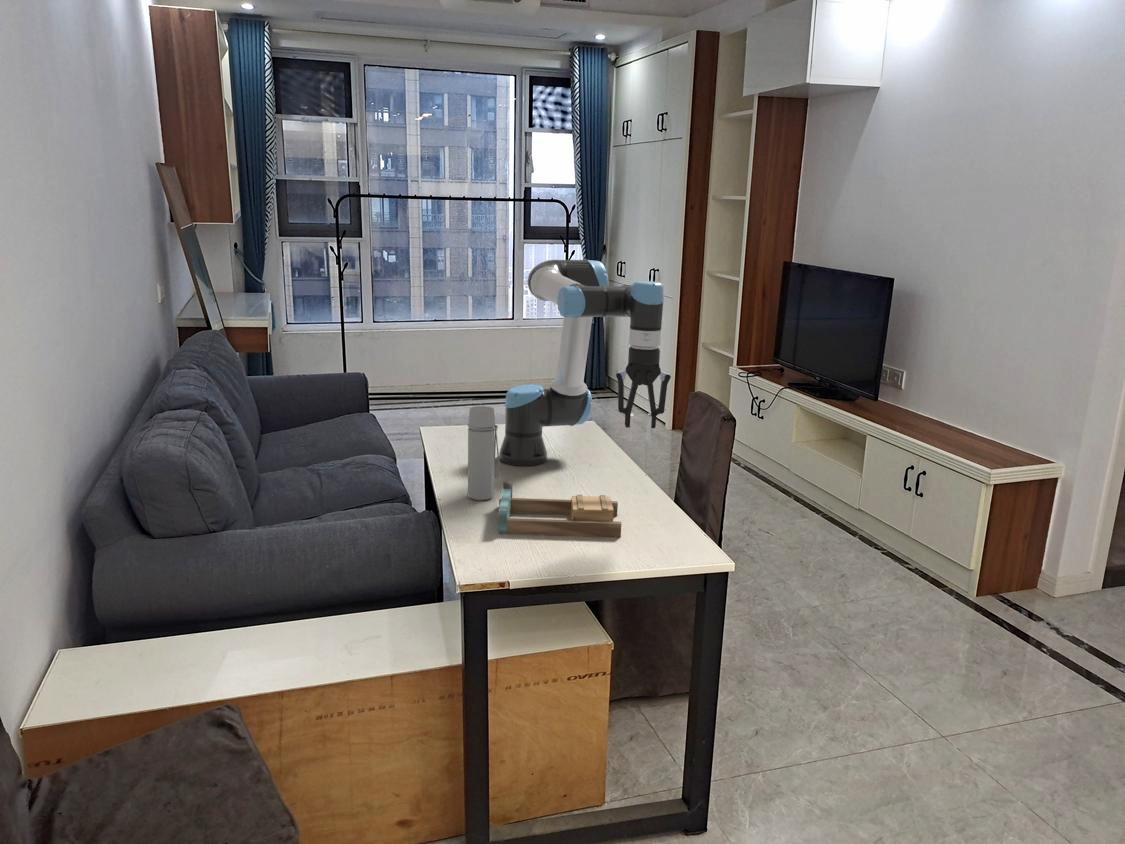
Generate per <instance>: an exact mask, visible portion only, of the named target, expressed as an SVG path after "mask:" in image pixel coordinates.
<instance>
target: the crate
mask: <svg viewBox="0 0 1125 844" xmlns="http://www.w3.org/2000/svg"><path fill="white" fill-rule="evenodd" d="M570 500H571V514H570V520H585V521H614V516H613V513H614V510H613V506H612V502H611V501H612V498H611V496H606V495H605V494H600V495H599V496H597V495H596V496H592V495H591V496H590V495H587V496H586V495H583V494H576V495H571V499H570Z"/></svg>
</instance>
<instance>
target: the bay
mask: <svg viewBox="0 0 1125 844" xmlns="http://www.w3.org/2000/svg"><path fill="white" fill-rule="evenodd" d="M502 486H503V487H502V495H501V498H500V499H498V501H499V502H498V506H499V507H498V529H497V530H498V534H499V535H500V534H503V535H504V534H505V535H506V534H507V535H508V534H509V535H532V534H533V535H534V536H535V535H539V536H541V535H540V534H544V535H543V536H565V535H568V536H569V537H572V536H573V537H574V536H575V537H599V538H600V537H604V538H605V537H606V538H622V537H621V536H622V521H614V520H613V521H585V520H571V519H550V518H549V519H547V518H546V519H545V518H544V519H543V518H517V517H515V518H514V517H513V518H512V517H510V516H511V513H512V514H514V513H515V514H517V513H518V514H542V515H543V514H548V515H571V499H559V498H558V499H555V498H554V499H553V498H523V497H522V498H519V497H517V498H516V497H513V481H507V480H506V481H503V483H502ZM611 502H612V506H613V510H614V513H613V517H614V516H615V517H616V516H618V507H619V504H618V503H619V502H618V501H617V500H616V501H615V500H611Z"/></svg>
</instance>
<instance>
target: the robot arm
mask: <svg viewBox="0 0 1125 844" xmlns="http://www.w3.org/2000/svg"><path fill="white" fill-rule="evenodd" d="M609 281H610V280H609V276H608V272H607V269H606V267H605V265H604V264H603V263H602V262H601V261H599V260H592V259H591V260H589V259H551V260H546V261H542V262H540V263H538V264H537V265H536V266H534V267H533V268H532V269H531V270H530V272H529V275H528V276H527V287H528V290H529V292H530V294H531V295H532V296H533V297H535V298H536V299H538V300H540V301H543V302H551V303H552V304H555V305H557V309H558V312H559V314H560V315H561V317H563V321H562V326H561V327H562V328H561V336H560V345H559V352H558V362H557V369H556V375H555V378H554V379H553V380H552V381H550V387H549V389H545V388H544V387H543V385H540V384H536V383H535V384H531V383H530V384H522V385H517V386H513V387H512V388H509V390H507V392H506V395H505V403H504V406H505V414H504V415H505V423H504V424H505V425H504V428H505V429H504V431H505V433H504V437H503V441H502V443H501V446H500V448H499V451H498V452H499V462H502V463H504V464H507V465H511V466H519V467H525V466H527V467H530V466H531V467H532V466H537V465H541V464H544V463H545V462H547V460H548V451H547V449H546V445H545V442H544V437H543V428H544V427H561V426H562V427H563V426H564V427H565V426H570V427H573V426H577V425H579V426H580V425H582V424H583V425H584V423H586V422H587V421H588V420H589V418H590V416H591V412H592V407H593V403H592V401H593V399H592V398H593V397H592V393H591V391H590V389H588V386H587V384H586V383H585V382H584V380H585V379H584V378H585V373H586V368H587V367H586V366H587V358H588V354H589V345H590V344H589V343H590V337H591V330H592V322H593V318H599V317H600V318H617V317H618V318H630V321H629V323H630V324H629V339H628V340H629V341H628V344H629V348H628V358H627V359H628V360H627V366H626V367H625V369H623V370H621V371H619V370H617V371H616V372H615V376H616V379H617V396H618V397H617V401H618V402H617V403H618V404H617V409H618V412H619V413H622V414H624V427H625V428H628V436H627V437H628V442H633V435H634V413H632V410H633V406H634V403H635V398H636V395H637V390H638V387H639V386H647V387H646V388H647V394H648V400H649V401H648V402H649V407H650V408H649V409H650V413H647V419H646V437H645V438H646V439H645V440H646V442H647V443H651V439H652V438H651V437H652V429H655V428H656V427H657V425H656V424H657V417H658V415H662V414H664V413H665V407H666V406H665V405H666V399H667V390H668V384H669V381H670V379H671V378H672V377H671V374H670V373H669V372H665V371H662V370H661V367H660V358H661V349H660V348H659V347H661V339H662V337H661V336H662V323H663V310H664V300H665V297H664V285H663V284H662V283H661V282H659V281H651V280H640V281H639V280H638V281H635V282H633V284H623V285H622V284H621V285H619V286H618V285H615V286H613V285H612V286H611V285H610V284H609ZM626 375H627V376H628V377H629V379H630V381H631V387H630V390H629V394H628V398H627V402H626V407H625V406H624V405H625V403H624V399H625V398H624V396H625V393H624V392H625V391H624V389H625V387H624V386H625V385H624V384H625V383H624V381H625V379H626ZM659 376H660V377H659ZM658 377H659V379H660V381H661V383H660V390H659V399H658V407H656V399H655V391H654V382H655V381H656V380H657V378H658Z"/></svg>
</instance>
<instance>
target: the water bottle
mask: <svg viewBox="0 0 1125 844" xmlns="http://www.w3.org/2000/svg"><path fill="white" fill-rule="evenodd" d="M495 416H496V415H495V409H494V407H491V406H488V405H487V406H486V405H485V406H484V405H478V406H477V405H475V406H472V407H470V408H469V414H468V423H467V427H468V428H467V496H468V497H469V499H471V500H473V501H479V502H481V501H488V500H491V499H492V498H493V497H494V495H495V492H494V491H495V479H497V480H498V479H499V478H500V476H501V475H500V474H501V463H500V462H501V461H500V459H499V452H500V451H499V443H498V434H497V433H498V432H497V431H498V428H499V427H498V425H497V424H496V420H495V419H496V417H495ZM496 451H497V453H496ZM496 454H497V455H496ZM496 456H497V465H498V470H497V471H498V473H497V476H496V475H495V473H496Z"/></svg>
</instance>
